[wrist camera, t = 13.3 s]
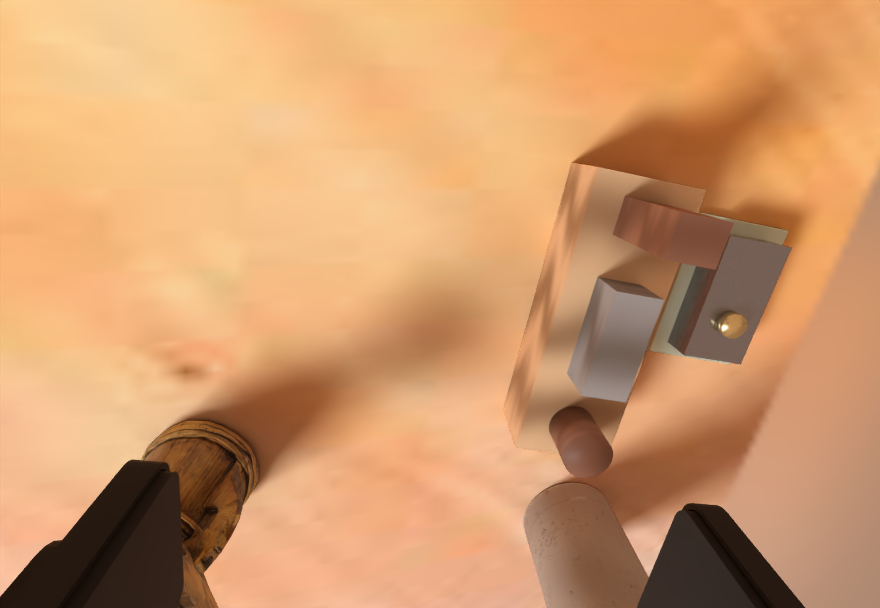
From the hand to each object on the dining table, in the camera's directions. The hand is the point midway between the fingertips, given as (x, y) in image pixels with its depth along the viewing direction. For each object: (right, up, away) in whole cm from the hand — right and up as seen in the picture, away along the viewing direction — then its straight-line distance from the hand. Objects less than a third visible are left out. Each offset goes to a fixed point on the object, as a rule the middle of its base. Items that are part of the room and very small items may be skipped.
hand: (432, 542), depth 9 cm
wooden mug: (-17, -8, +31) cm, 36 cm away
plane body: (+11, +4, +28) cm, 30 cm away
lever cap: (+21, +5, +27) cm, 35 cm away
